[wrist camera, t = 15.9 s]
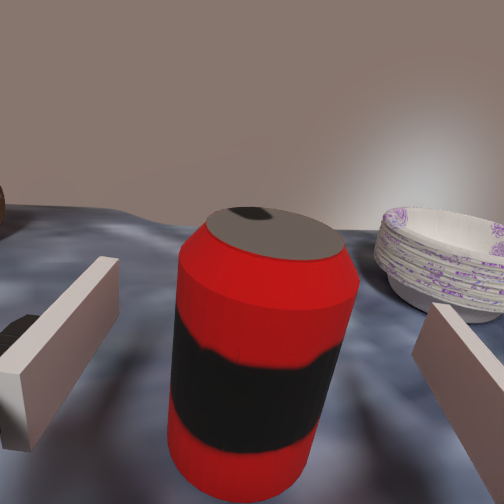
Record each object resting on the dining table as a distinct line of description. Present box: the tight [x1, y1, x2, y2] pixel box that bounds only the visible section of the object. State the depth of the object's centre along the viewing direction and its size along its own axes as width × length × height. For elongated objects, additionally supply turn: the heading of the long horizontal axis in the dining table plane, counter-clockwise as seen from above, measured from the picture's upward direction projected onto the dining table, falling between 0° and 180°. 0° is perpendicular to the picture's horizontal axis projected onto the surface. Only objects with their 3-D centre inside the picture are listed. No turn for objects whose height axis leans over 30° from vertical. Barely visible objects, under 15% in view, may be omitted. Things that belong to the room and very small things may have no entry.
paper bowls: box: [373, 207, 504, 323], centre depth 37 cm, size 15×15×8 cm
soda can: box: [167, 207, 360, 503], centre depth 17 cm, size 8×8×12 cm
